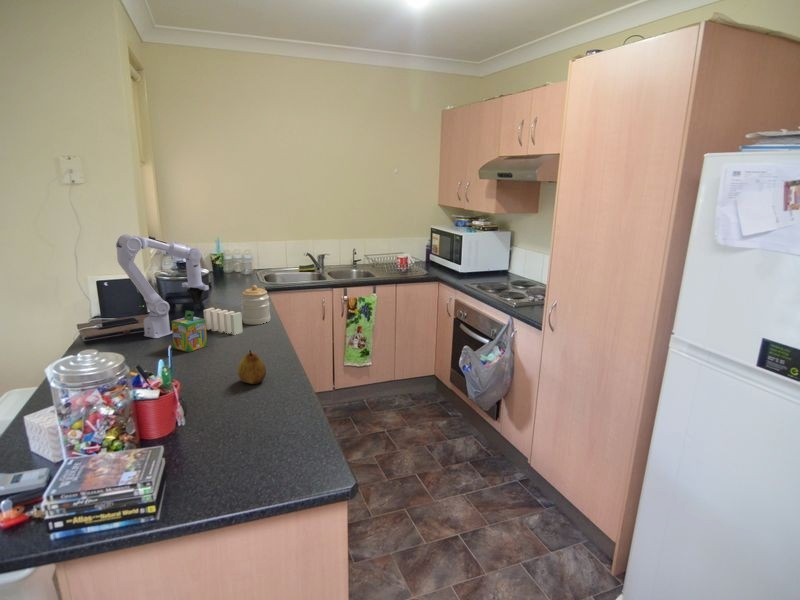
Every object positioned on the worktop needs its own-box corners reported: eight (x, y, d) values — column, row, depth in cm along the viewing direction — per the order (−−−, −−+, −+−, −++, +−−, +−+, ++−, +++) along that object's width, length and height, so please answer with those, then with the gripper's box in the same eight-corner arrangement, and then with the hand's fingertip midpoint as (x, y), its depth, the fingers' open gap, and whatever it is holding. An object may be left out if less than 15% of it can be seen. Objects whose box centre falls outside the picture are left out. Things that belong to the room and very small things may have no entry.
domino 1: (216, 327, 213) (214, 308, 211) (207, 329, 209) (206, 310, 206) (213, 326, 214) (211, 307, 211) (205, 329, 209) (203, 310, 207)
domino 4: (235, 330, 208) (234, 311, 206) (227, 333, 204) (226, 314, 201) (233, 330, 208) (231, 310, 206) (225, 333, 204) (223, 313, 202)
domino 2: (222, 328, 211) (221, 309, 209) (214, 331, 207) (212, 311, 205) (219, 327, 212) (218, 308, 210) (211, 330, 208) (209, 311, 205)
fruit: (250, 374, 161) (248, 341, 158) (271, 379, 158) (270, 345, 155) (232, 384, 153) (229, 349, 150) (255, 389, 150) (252, 353, 147)
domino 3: (229, 329, 210) (227, 310, 207) (220, 332, 205) (219, 312, 203) (226, 329, 210) (224, 309, 208) (218, 332, 206) (216, 312, 204)
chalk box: (173, 349, 185) (169, 312, 181) (192, 342, 192) (189, 307, 189) (189, 353, 180) (185, 316, 177) (208, 346, 188) (205, 310, 185)
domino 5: (242, 332, 206) (241, 312, 204) (234, 335, 202) (233, 315, 200) (239, 331, 207) (238, 312, 205) (231, 334, 203) (230, 314, 200)
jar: (274, 318, 228) (272, 282, 224) (264, 325, 216) (262, 288, 212) (248, 317, 230) (246, 281, 225) (237, 324, 217) (234, 287, 213)
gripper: (213, 274, 208) (215, 303, 212) (189, 271, 214) (192, 300, 218) (200, 277, 202) (203, 307, 205) (176, 274, 208) (179, 303, 211)
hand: (197, 304), depth 211 cm, fingers closed
